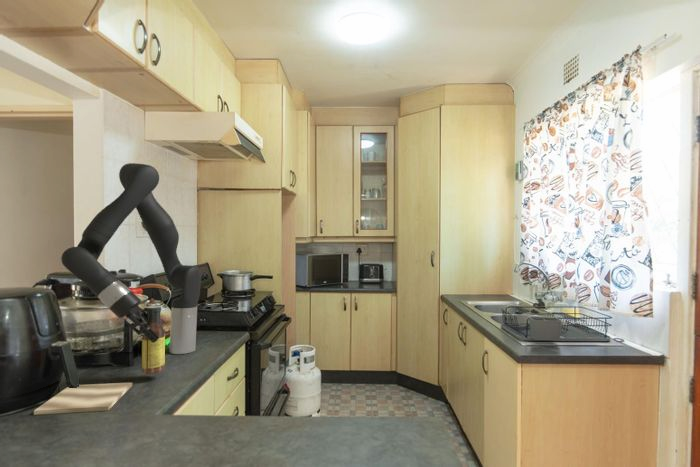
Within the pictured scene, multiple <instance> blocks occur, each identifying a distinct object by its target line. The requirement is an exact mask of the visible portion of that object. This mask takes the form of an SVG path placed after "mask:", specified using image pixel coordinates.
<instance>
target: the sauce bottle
mask: <svg viewBox="0 0 700 467" xmlns="http://www.w3.org/2000/svg"><path fill="white" fill-rule="evenodd" d="M161 311H162V306H160V305H150V306H147V307H146V312H147V321H148V323H147V324H148V326H149V327H150V329H152V330H153V331H154V332H155V333H156V334H157V335H158V336H159V339H158V340H157V341H155V342H154V343H153V342H152V341H150V340H149V339H148V338H147V337H146V336H145V334H144V335H142V339H141V367H142V373H143V374H147V375H151V374H153V375H154V374H157V373H161V372H163V371H164V370H165V360H166V357H165V356H166V353H165V350H166V333H165V332H164V330H165V329H164V326H163V323H162V320H161Z"/></svg>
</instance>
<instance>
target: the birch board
mask: <svg viewBox="0 0 700 467" xmlns="http://www.w3.org/2000/svg"><path fill="white" fill-rule="evenodd" d="M78 385H79V387H77V388H69V387H68V386H67V387H66V388H64V389H63V390H61V391H60V392H58V393H57V394H55V395H54V396H52V397H51V398H50V399H48V400H47V401H45V402H44V403H42V404H41V405H40V406H39V407H37V408H36V409H34V410H33V416H35V415H51V414H54V415H55V414H67V413H84V412H85V413H89V412H103V411H104V412H105V411H109V410H110V409H112V407H113V406H114V405H115V404H116V403H117V402H118V401H119V400H120V399H121V398H122V397H123V396H124V395H125V394H126V393H127V392H128V391H129V390H130V389H131V388H132V387H133V382H116V383H114V382H113V383H94V384H93V383H90V384H88V383H87V384H78Z"/></svg>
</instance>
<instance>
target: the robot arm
mask: <svg viewBox="0 0 700 467" xmlns="http://www.w3.org/2000/svg"><path fill="white" fill-rule="evenodd" d="M118 177H119V182H120V183H121V186H122V187H123V188H124V190H123V191H122V192H121V193H120V194H119V195H118V197H117V198H116V199H114V200H113V201H111V203H109V204H108V205H106V206H105V207H104V208H102V209H101V210H100V211H98V213H97V214H96V215H95V216H94V217H93V219H92V220H91V221H90V222H89V224H88V225H87V226H86V228H85V229H84V230H83V232H82V235H81V240H80V241H79V243H78V244H77V246H71V247H69V248H67V249H66V250H64V252H62V254H61V258H60V259H61V264H62V265H63V266H64V268H66V270H68V271H69V272H70V274H72V275H74V276H75V277H76V278H77V279H79V280H80V281H81V282H83V284H84V285H85V286H86V287H87V289H89V290H90V291H91V292H92V293H93V294H94V295H95V296H96V297H97V298H98V299H99V300H100V302H102V304H103V305H105V306H106V307H107V308H108V309H109V311H110V312H112V313H113V314H114V315H115V316H116V317H117V318H119V319H123V318H125V317H126V319H125V320H124V321H123V323H124V324H125V325H127V327H129V328H130V329H131V330H132V331H133V332H135V333H136V334H137V335H139V336H141V335H142V336H143V335H144V334H145V336H146V337H147V338H148V339H149V340H150V341H152V342H153V343H154V342H155V341H157V340H158V339H159V336H158V335H157V334H156V333H155V332H154V331H153V330H152V329H150V327H149V326H148V324H147V323H148V321H147V312H146V308H147V307H145V306H144V308H142V307H140V306H139V305H140V304H141V303H142V300H141V298H139V296H137V295H136V294H135V293H134V292H133V291H132V290H131V289H130V288H129V287H128V286H127V285H125V283H123V282H121V280H119V279H118V278H117V277H116V276H115V275H114V274H113V273H111V271H109V270H108V269H107V268H105V267H104V266H103V265H102V264H101V263H100V262H99V261H98V260H99V258H100V256H101V254H102V253H103V251H104V248H105V246H106V245H107V244H108V242H110V240H111V239H112V237H113V236H114V235H115V234H116V232H117V231H118V229H119V228H120V227H121V225H122V224H123V223H124V222H125V220H126V219H127V217H129V215H130V214H132V212H133V211H134V210H135V209H136V211H137V213H138V215H139V217H140V220H141V221H142V223H143V225H144V228H145V230H146V232H147V235H148V236H149V239H150V240H151V242H152V244H153V246H154V248H155V250H156V253H157V255H158V257H159V259H160V262H161V264H162V268H163V271H164V274H165V277H166V279H167V281H168V283H169V285H170V286H171V287H172V288H175V289H176V290H177V289H180V290H182V292H181V295H180V296H179V297H178V296H177V297H176V298H173V299H172V300H171V310H170V311H171V312H170V330H169V332H170V334H169V353H170V354H173V355H184V354H185V355H186V354H189V353H194V352H195V351H196V346H197V344H196V340H197V325H198V324H197V322H198V321H197V320H198V318H197V317H198V303H199V299H200V296H201V287H202V286H201V285H202V284H201V283H202V272H201V270H200V268H199V266H196V265H183V264H182V263H181V262H180V259H179V257H178V253H177V249H178V244H179V240H180V234H179V232H178V231H179V230H178V229H177V227H176V225H175V222H174V220H173V218H172V217H171V215H169V213H168V212H167V211H166V210H165V209H164V207H163V206H162V205H161V204H160V203H159V202H158V201H157V199H156V198H155V196H154V194H153V191H154V190H155V189H156V187H158V185H159V182H160V175H159V172H158V170H157V169H156V168H155V167H154V166H153V165H151V164H150V165H149V164H145V163H136V162H135V163H134V162H133V163H131V162H130V163H129V162H128V163H125V164H124V165H122V166H121V168H120V169H119V174H118ZM164 332H165V334H166V330H165V329H164Z"/></svg>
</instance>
